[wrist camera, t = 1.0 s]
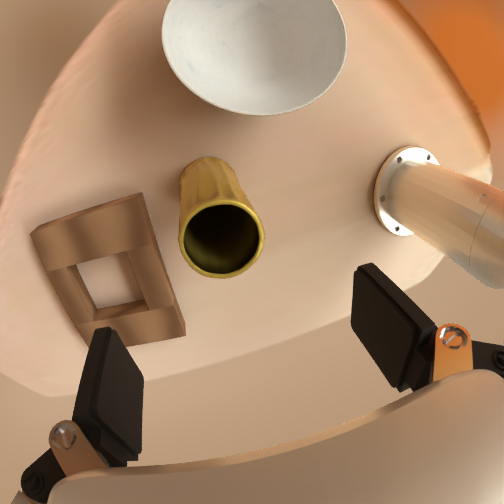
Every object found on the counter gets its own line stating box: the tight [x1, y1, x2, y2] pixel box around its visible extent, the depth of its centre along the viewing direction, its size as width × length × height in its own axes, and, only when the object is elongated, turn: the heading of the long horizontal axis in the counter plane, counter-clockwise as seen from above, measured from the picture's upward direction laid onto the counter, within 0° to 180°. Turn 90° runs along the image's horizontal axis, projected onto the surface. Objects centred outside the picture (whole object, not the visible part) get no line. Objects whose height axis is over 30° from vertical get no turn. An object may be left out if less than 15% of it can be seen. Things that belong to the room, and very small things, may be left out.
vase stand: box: [30, 193, 186, 347], centre depth 31 cm, size 14×18×2 cm
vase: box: [178, 157, 265, 279], centre depth 23 cm, size 6×6×14 cm
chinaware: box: [161, 0, 347, 116], centre depth 20 cm, size 15×15×8 cm
